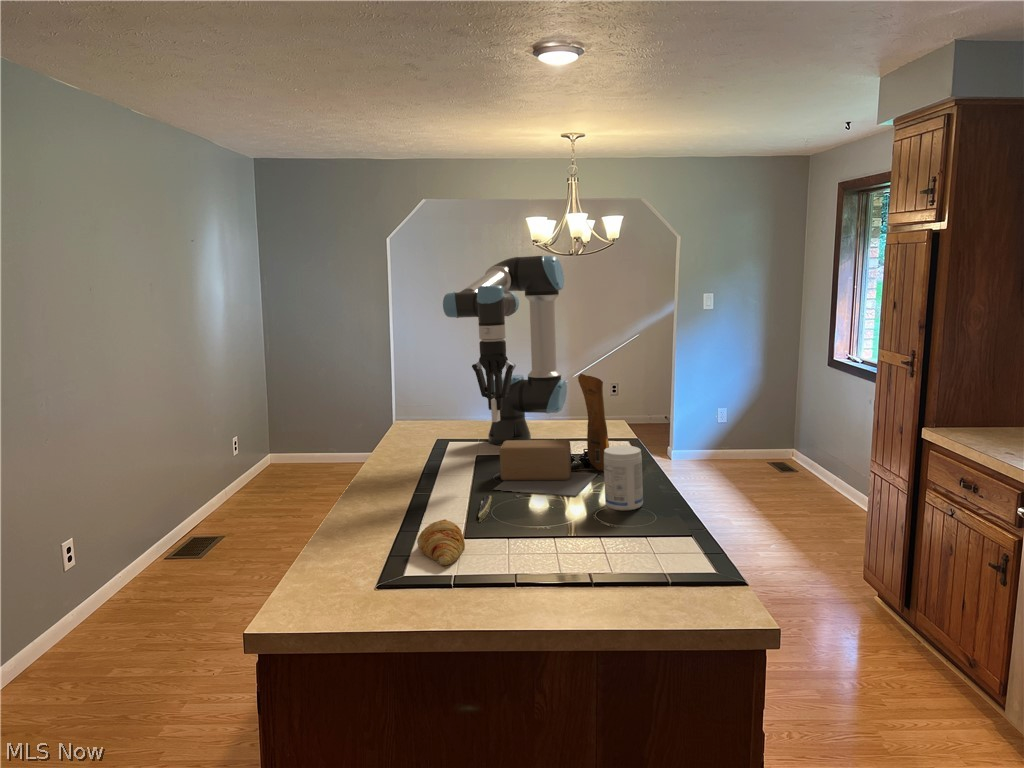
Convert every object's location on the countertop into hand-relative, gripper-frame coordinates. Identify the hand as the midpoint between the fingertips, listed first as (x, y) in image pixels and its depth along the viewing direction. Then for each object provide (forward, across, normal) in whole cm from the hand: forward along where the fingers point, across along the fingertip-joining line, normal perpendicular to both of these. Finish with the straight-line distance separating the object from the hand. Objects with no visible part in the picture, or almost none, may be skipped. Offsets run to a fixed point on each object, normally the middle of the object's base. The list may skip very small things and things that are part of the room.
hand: (496, 421), depth 218 cm
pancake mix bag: (+18, +24, +22) cm, 37 cm away
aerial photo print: (+18, +14, -25) cm, 34 cm away
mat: (+18, +15, 0) cm, 23 cm away
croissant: (+18, +10, -56) cm, 59 cm away
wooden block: (+12, 0, +2) cm, 12 cm away
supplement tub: (+18, +41, -15) cm, 47 cm away
